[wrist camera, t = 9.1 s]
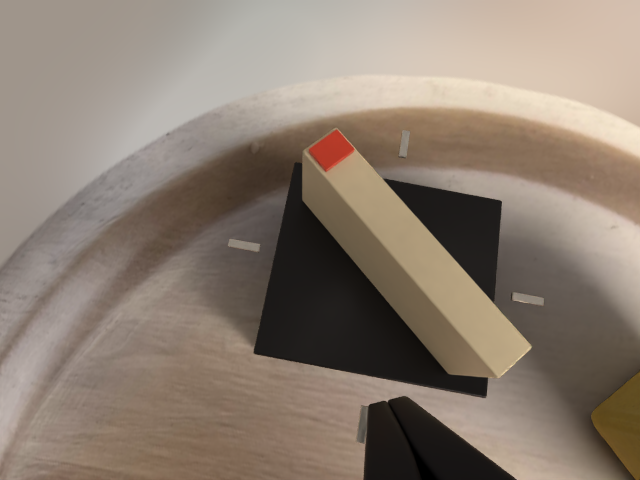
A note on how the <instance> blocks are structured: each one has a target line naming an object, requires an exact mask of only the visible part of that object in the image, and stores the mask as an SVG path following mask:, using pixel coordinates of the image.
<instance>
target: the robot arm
mask: <svg viewBox="0 0 640 480" xmlns="http://www.w3.org/2000/svg"><path fill="white" fill-rule="evenodd" d="M363 480H517V479H515V478H514V477H513V476H511V475H510V474H509V473H507V472H506V471H505V470H503V469H502V468H501V467H499V466H498V465H497V464H495V463H494V462H493V461H492V460H490V459H489V458H488V457H486V456H485V455H484V454H482V453H481V452H480V451H478V450H477V449H476V448H474V447H473V446H472V445H470V444H469V443H468V442H466V441H465V440H464V439H463V438H461V437H460V436H459V435H457V434H456V433H455V432H453V431H452V430H451V429H449V428H448V427H447V426H445V425H444V424H443V423H441V422H440V421H439V420H437V419H436V418H435V417H433V416H432V415H431V414H430V413H428V412H427V411H426V410H424V409H423V408H422V407H420V406H419V405H418V404H416V403H415V402H414V401H412V400H411V399H410V398H408V397H406V396H402V397H398V398H394V399H390V400H389V401H388V403H387V402H386V401H381V402H377V403H373V404H370V405H369V406H368V413H367V429H366V446H365V462H364V479H363Z"/></svg>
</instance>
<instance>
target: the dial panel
mask: <svg viewBox="0 0 640 480" xmlns="http://www.w3.org/2000/svg"><path fill="white" fill-rule="evenodd" d="M409 136H410V131H405V130H403V131H402V136H401V143H400V150H399V156H398V157H401V158H406V156H407V149H408V142H409ZM382 179H383V178H382ZM383 180H384V181H385V182H386V183H387V185H388V186H389V187H390V188H391V189H392V190H393V191H394V192H395V194H396V195H397V196H398V197H399V198H400V199H401V200H402V201H403V202H404V204H405V205H406V206H407V207H408V208H409V209H410V210H411V211H412V213H413V214H414V215H415V216H416V217H417V218H418V219H419V220H420V221H421V223H422V224H423V225H424V226H425V227H426V228H427V229H428V230H429V232H430V233H431V234H432V235H433V236H434V237H435V238H436V239H437V241H438V242H439V243H440V244H441V245H442V246H443V247H444V248H445V249H446V251H447V252H448V253H449V254H450V255H451V256H452V257H453V258H454V260H455V261H456V262H457V263H458V264H459V265H460V266H461V267H462V269H463V270H464V271H465V272H466V273H467V274H468V275H469V276H470V277H471V279H472V280H473V281H474V282H475V283H476V284H477V285H478V286H479V288H480V289H481V290H482V291H483V292H484V293H485V294H486V295H487V296H488V298H489V299H490V300H491V301H492V302H493V303H494V295H495V283H496V270H497V257H498V245H499V232H500V220H501V207H502V201H500V200H495V199H490V198H484V197H479V196H474V195H468V194H463V193H458V192H452V191H447V190H442V189H436V188H431V187H426V186H420V185H415V184H410V183H404V182H399V181H394V180H388V179H383ZM260 246H261V245H260V244H256V243H251V242H246V241H241V240H235V239H229V243H228V247H232V248H237V249H243V250H248V251H253V252H258V253H259V250H260ZM511 300H512V301H517V302H523V303H528V304H533V305H538V306H543V305H544V298H542V297H537V296H531V295H526V294H521V293H515V292H512V293H511ZM254 354H257V355H262V356H268V357H273V358H278V359H283V360H288V361H294V362H299V363H304V364H309V365H314V366H320V367H325V368H330V369H335V370H341V371H346V372H351V373H356V374H361V375H367V376H372V377H377V378H382V379H388V380H393V381H398V382H403V383H408V384H414V385H419V386H424V387H429V388H435V389H440V390H445V391H450V392H455V393H461V394H466V395H471V396H476V397H482V398H486V396H487V383H488V378H487V377H476V376H464V375H452V374H448V373H447V372H446V371H445V369H444V368H443V367H442V366H441V365H440V363H439V362H438V361H437V360H436V359H435V357H434V356H433V355H432V354H431V353H430V352H429V350H428V349H427V348H426V347H425V346H424V344H423V343H422V342H421V341H420V340H419V338H418V337H417V336H416V335H415V334H414V332H413V331H412V330H411V329H410V328H409V327H408V325H407V324H406V323H405V322H404V321H403V319H402V318H401V317H400V316H399V315H398V313H397V312H396V311H395V310H394V309H393V307H392V306H391V305H390V304H389V303H388V302H387V300H386V299H385V298H384V297H383V296H382V294H381V293H380V292H379V291H378V290H377V288H376V287H375V286H374V285H373V284H372V282H371V281H370V280H369V279H368V278H367V277H366V275H365V274H364V273H363V272H362V271H361V269H360V268H359V267H358V266H357V265H356V263H355V262H354V261H353V260H352V259H351V257H350V256H349V255H348V254H347V253H346V251H345V250H344V249H343V248H342V247H341V246H340V244H339V243H338V242H337V241H336V240H335V238H334V237H333V236H332V235H331V234H330V232H329V231H328V230H327V229H326V228H325V226H324V225H323V224H322V223H321V222H320V221H319V219H318V218H317V217H316V216H315V215H314V213H313V212H312V211H311V210H310V209H309V207H308V206H307V205H306V204H305V203H304V201H303V200H302V163H297V162H296V163H295V164H294V169H293V173H292V178H291V182H290V187H289V192H288V196H287V201H286V205H285V210H284V215H283V219H282V224H281V228H280V233H279V237H278V242H277V247H276V251H275V256H274V260H273V265H272V270H271V274H270V279H269V283H268V288H267V293H266V297H265V302H264V306H263V311H262V316H261V320H260V325H259V329H258V334H257V338H256V343H255V348H254ZM367 413H368V406H363V405H361V409H360V416H359V423H358V429H357V436H356V442H359V443H365V439H366V429H367Z"/></svg>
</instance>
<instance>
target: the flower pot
mask: <svg viewBox="0 0 640 480" xmlns="http://www.w3.org/2000/svg"><path fill="white" fill-rule="evenodd" d="M591 419H592V422H593V424H594V426H595V428H596V429H597V431H598V432H599V433H600V434H601V436H602V437H603V438H604V439H605V441H606V442H607V443H608V444H609V446H610V447H611V448H612V450H613V451H614V452H615V454H616V455H617V456H618V458H619V459H620V460H621V462H622V463H623V464H624V465H625V467H626V468H627V469H628V471H629V472H630V473H631V474H632V476H633V477H634V478H635V480H640V371H639V372H638V373H637V374H636V375H635V376H633V377H632V378H631V379H630V380H629V381H627V382H626V383H625V384H624V385H623V386H622V387H620V388H619V389H618V390H617V391H616V392H615V393H613V394H612V395H611V396H610V397H609V398H607V399H606V400H605V401H604V402H602V403H601V404H600V405H599V406H598V407H596V408H595V410H594V411H593V412H592V414H591Z"/></svg>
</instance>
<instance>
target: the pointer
mask: <svg viewBox="0 0 640 480" xmlns="http://www.w3.org/2000/svg"><path fill="white" fill-rule="evenodd" d="M302 200H303V201H304V203H305V204H306V205H307V206H308V207H309V209H310V210H311V211H312V212H313V213H314V215H315V216H316V217H317V218H318V219H319V221H320V222H321V223H322V224H323V225H324V226H325V228H326V229H327V230H328V231H329V232H330V234H331V235H332V236H333V237H334V238H335V240H336V241H337V242H338V243H339V244H340V246H341V247H342V248H343V249H344V250H345V251H346V253H347V254H348V255H349V256H350V257H351V259H352V260H353V261H354V262H355V263H356V265H357V266H358V267H359V268H360V269H361V271H362V272H363V273H364V274H365V275H366V277H367V278H368V279H369V280H370V281H371V282H372V284H373V285H374V286H375V287H376V288H377V290H378V291H379V292H380V293H381V294H382V296H383V297H384V298H385V299H386V300H387V302H388V303H389V304H390V305H391V306H392V307H393V309H394V310H395V311H396V312H397V313H398V315H399V316H400V317H401V318H402V319H403V321H404V322H405V323H406V324H407V325H408V327H409V328H410V329H411V330H412V331H413V332H414V334H415V335H416V336H417V337H418V338H419V340H420V341H421V342H422V343H423V344H424V346H425V347H426V348H427V349H428V350H429V352H430V353H431V354H432V355H433V356H434V357H435V359H436V360H437V361H438V362H439V363H440V365H441V366H442V367H443V368H444V369H445V371H446V372H447V373H448V374H452V375H464V376H476V377H487V378H500V377H501V376H502V375H503V374H504V373H506V372H507V371H508V370H509V369H510V368H511V367H512V366H513V365H514V364H515V363H516V362H517V361H518V360H519V359H520V358H521V357H522V356H524V355H525V354H526V353H527V352H528V351H529V350H530V349H531V347H532V346H531V345H530V344H529V342H528V341H527V340H526V339H525V338H524V337H523V336H522V335H521V333H520V332H519V331H518V330H517V329H516V328H515V327H514V326H513V324H512V323H511V322H510V321H509V320H508V319H507V318H506V317H505V316H504V314H503V313H502V312H501V311H500V310H499V309H498V308H497V307H496V305H495V304H494V303H493V302H492V301H491V300H490V299H489V298H488V296H487V295H486V294H485V293H484V292H483V291H482V290H481V289H480V288H479V286H478V285H477V284H476V283H475V282H474V281H473V280H472V279H471V277H470V276H469V275H468V274H467V273H466V272H465V271H464V270H463V269H462V267H461V266H460V265H459V264H458V263H457V262H456V261H455V260H454V258H453V257H452V256H451V255H450V254H449V253H448V252H447V251H446V249H445V248H444V247H443V246H442V245H441V244H440V243H439V242H438V241H437V239H436V238H435V237H434V236H433V235H432V234H431V233H430V232H429V230H428V229H427V228H426V227H425V226H424V225H423V224H422V223H421V221H420V220H419V219H418V218H417V217H416V216H415V215H414V214H413V213H412V211H411V210H410V209H409V208H408V207H407V206H406V205H405V204H404V202H403V201H402V200H401V199H400V198H399V197H398V196H397V195H396V194H395V192H394V191H393V190H392V189H391V188H390V187H389V186H388V185H387V183H386V182H385V181H384V180H383V179H382V178H381V177H380V176H379V174H378V173H377V172H376V171H375V170H374V169H373V168H372V167H371V166H370V164H369V163H368V162H367V161H366V160H365V159H364V158H363V157H362V155H361V154H360V153H359V152H358V151H357V150H356V149H355V148H354V146H353V145H352V144H351V143H350V142H349V141H348V140H347V139H346V138H345V136H344V135H343V134H342V133H341V132H340V131H339V130H338V129H337V128H334V129H332V130H331V131H330V132H328V133H327V134H325V135H324V136H323V137H321V138H320V139H318V140H317V141H316V142H314V143H313V144H311V145H310V146H309V147H307V148H306V149H304V150H303V156H302Z"/></svg>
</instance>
